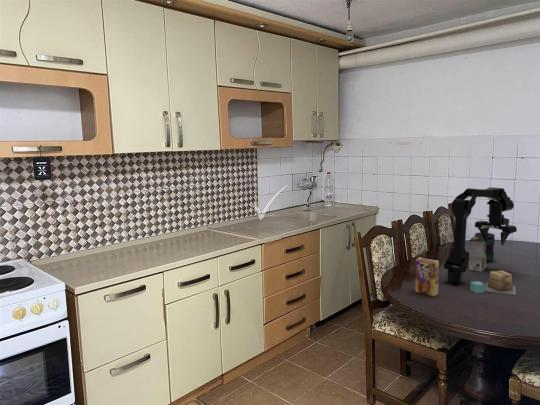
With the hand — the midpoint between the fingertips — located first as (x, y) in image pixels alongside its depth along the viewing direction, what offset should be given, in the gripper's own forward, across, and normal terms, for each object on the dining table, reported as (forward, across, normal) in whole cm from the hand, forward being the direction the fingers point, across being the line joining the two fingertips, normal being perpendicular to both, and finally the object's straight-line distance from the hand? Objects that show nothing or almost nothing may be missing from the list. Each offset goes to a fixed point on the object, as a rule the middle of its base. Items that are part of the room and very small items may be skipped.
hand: (494, 243), depth 204 cm
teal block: (+15, -12, +30) cm, 35 cm away
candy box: (+14, -2, +50) cm, 52 cm away
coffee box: (+15, +8, +1) cm, 17 cm away
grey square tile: (+15, -16, +19) cm, 29 cm away
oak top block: (+11, -16, +19) cm, 27 cm away
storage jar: (+16, +15, -14) cm, 26 cm away
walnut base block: (+14, -16, +19) cm, 28 cm away
